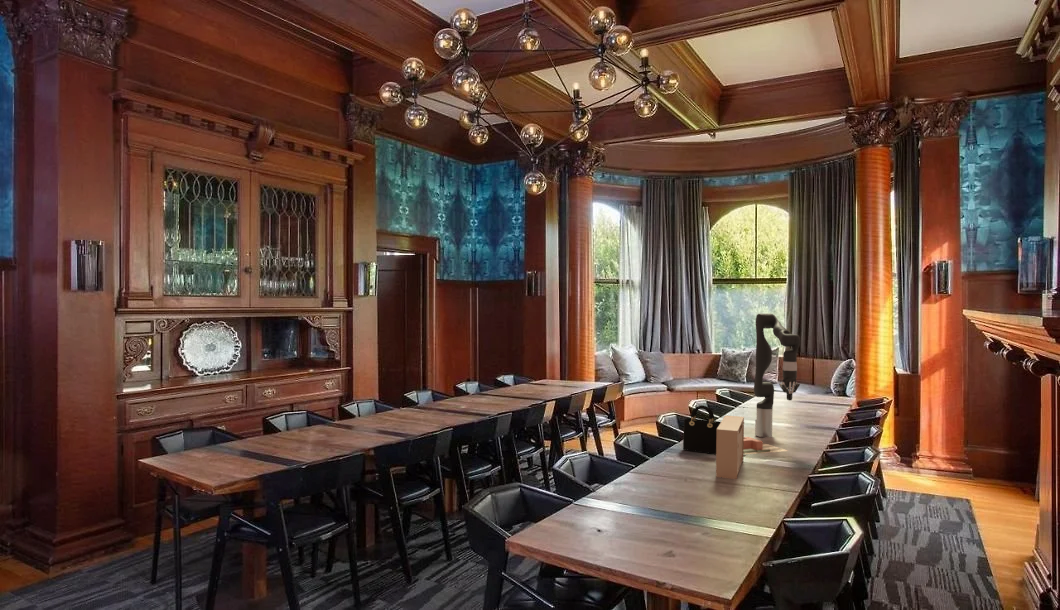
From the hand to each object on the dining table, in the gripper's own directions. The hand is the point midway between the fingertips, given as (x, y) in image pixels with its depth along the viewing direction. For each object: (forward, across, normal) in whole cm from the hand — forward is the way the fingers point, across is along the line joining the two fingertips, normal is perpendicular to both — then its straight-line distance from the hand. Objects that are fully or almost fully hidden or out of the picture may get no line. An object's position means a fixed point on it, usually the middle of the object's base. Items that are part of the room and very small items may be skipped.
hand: (789, 400), depth 360 cm
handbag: (+27, +52, -8) cm, 59 cm away
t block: (+26, +28, -1) cm, 38 cm away
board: (+27, +23, -2) cm, 36 cm away
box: (+27, +59, +27) cm, 70 cm away
